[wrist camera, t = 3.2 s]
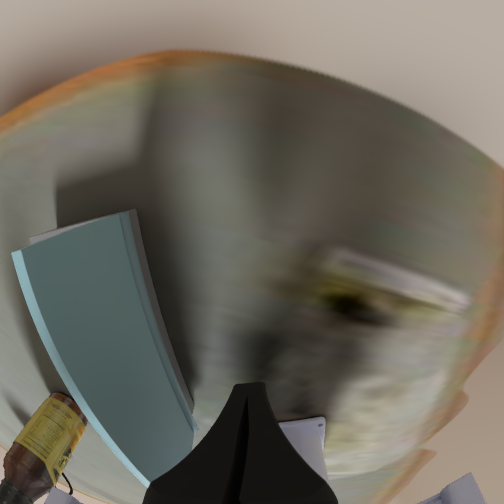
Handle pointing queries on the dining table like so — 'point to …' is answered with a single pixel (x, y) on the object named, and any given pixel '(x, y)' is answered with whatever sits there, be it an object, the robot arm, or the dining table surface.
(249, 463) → the robot arm
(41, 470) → the sauce bottle
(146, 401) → the cover
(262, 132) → the dining table surface
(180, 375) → the gray storage box base
